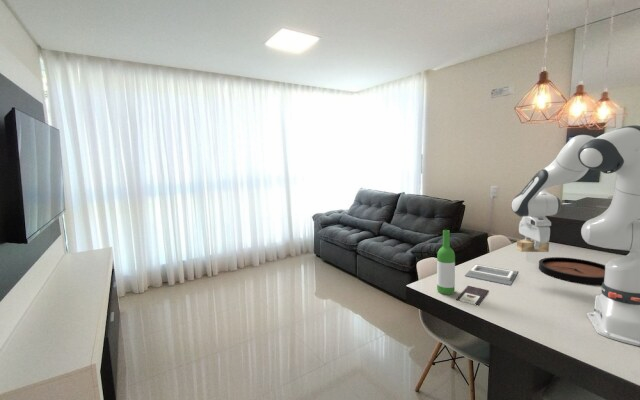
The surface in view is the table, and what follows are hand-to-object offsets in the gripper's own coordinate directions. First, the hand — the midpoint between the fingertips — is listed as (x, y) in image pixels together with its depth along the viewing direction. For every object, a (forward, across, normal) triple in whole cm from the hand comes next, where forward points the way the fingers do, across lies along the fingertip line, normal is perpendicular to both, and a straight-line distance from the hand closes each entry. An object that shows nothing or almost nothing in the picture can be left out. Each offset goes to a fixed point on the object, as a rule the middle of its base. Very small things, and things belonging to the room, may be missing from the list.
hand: (532, 247), depth 145 cm
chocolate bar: (+20, +15, -32) cm, 40 cm away
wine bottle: (+19, +12, -43) cm, 48 cm away
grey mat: (+18, -12, -13) cm, 26 cm away
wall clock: (+19, -16, +29) cm, 38 cm away
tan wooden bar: (+2, 0, 0) cm, 2 cm away
